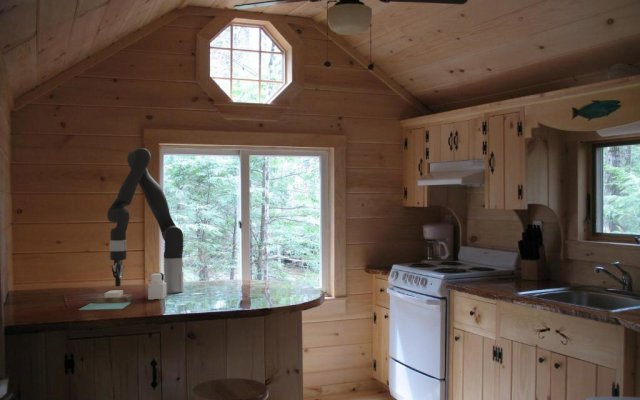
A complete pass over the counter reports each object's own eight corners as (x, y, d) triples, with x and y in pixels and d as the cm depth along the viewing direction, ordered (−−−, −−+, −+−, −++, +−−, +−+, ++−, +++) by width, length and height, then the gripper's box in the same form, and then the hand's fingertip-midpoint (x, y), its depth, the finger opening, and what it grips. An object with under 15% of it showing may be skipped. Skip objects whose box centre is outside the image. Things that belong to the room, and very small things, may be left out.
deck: (132, 299, 294) (132, 294, 294) (127, 303, 284) (127, 297, 284) (100, 300, 294) (100, 294, 294) (93, 303, 284) (93, 298, 284)
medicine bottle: (151, 297, 301) (151, 272, 301) (166, 297, 301) (166, 272, 301) (147, 299, 294) (147, 274, 294) (163, 299, 294) (162, 273, 294)
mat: (130, 303, 284) (130, 302, 284) (121, 309, 268) (121, 308, 268) (90, 304, 283) (90, 303, 283) (78, 310, 267) (78, 309, 267)
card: (109, 294, 294) (109, 290, 294) (122, 294, 294) (122, 290, 294) (104, 297, 285) (104, 293, 285) (118, 297, 285) (117, 293, 285)
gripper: (122, 250, 293) (122, 287, 293) (129, 248, 306) (129, 284, 306) (106, 250, 293) (105, 288, 292) (114, 248, 306) (113, 284, 306)
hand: (118, 286), depth 299 cm, fingers closed
